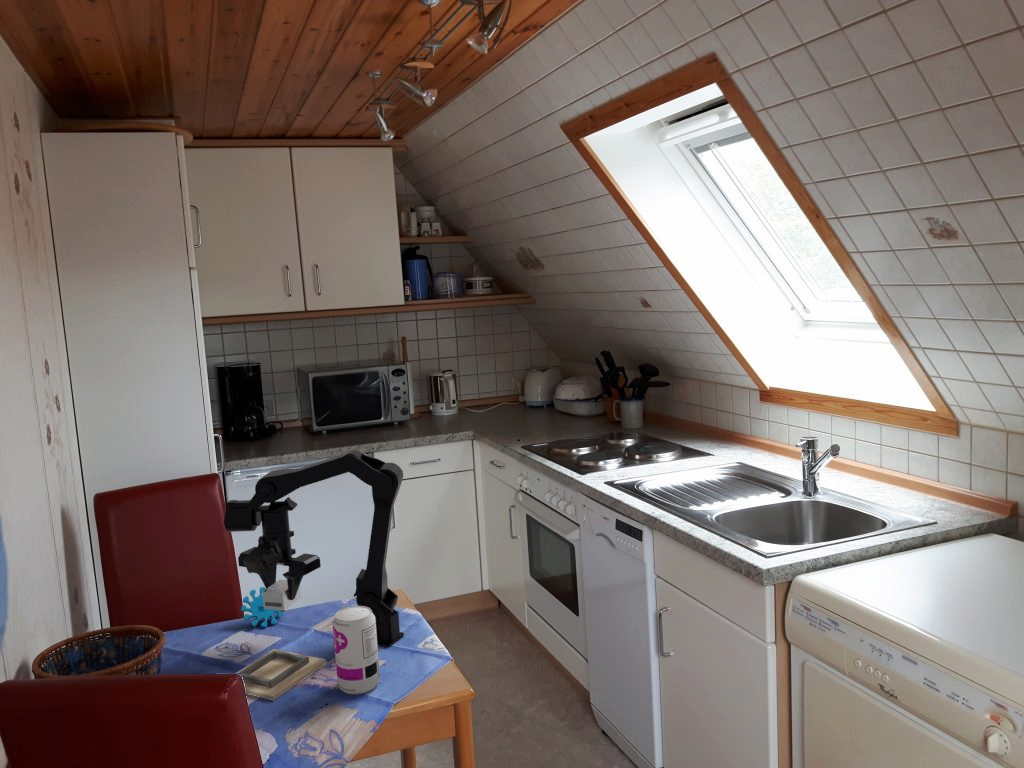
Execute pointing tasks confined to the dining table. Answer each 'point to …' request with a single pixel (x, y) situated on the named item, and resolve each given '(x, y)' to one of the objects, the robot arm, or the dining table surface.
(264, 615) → the gear
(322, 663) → the dock
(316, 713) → the dining table surface
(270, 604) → the block
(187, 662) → the dining table surface
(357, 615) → the supplement can
